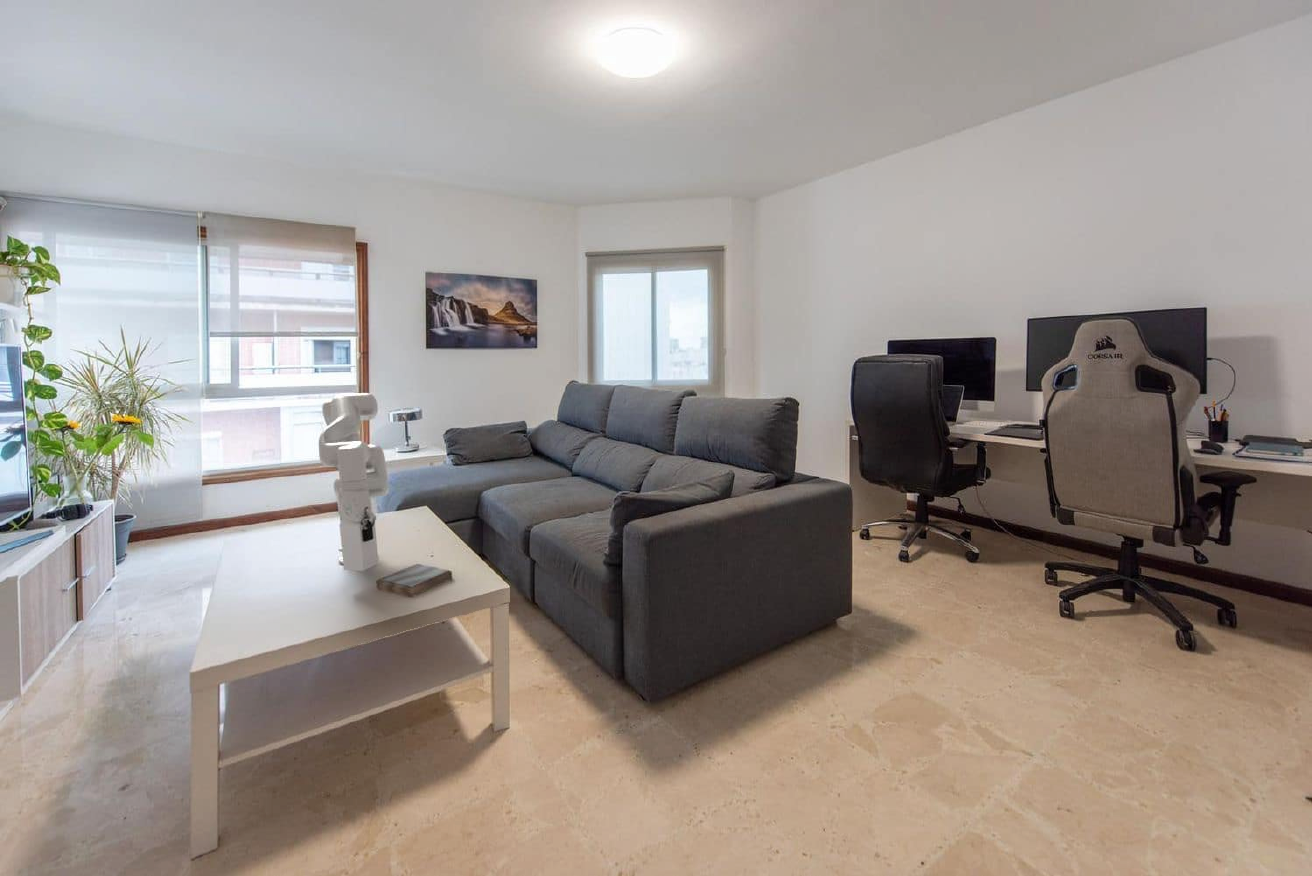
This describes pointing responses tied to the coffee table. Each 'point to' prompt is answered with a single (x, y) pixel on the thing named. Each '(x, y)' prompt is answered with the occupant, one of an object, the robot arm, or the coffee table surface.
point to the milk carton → (357, 547)
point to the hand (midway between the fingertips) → (358, 538)
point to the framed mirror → (414, 580)
